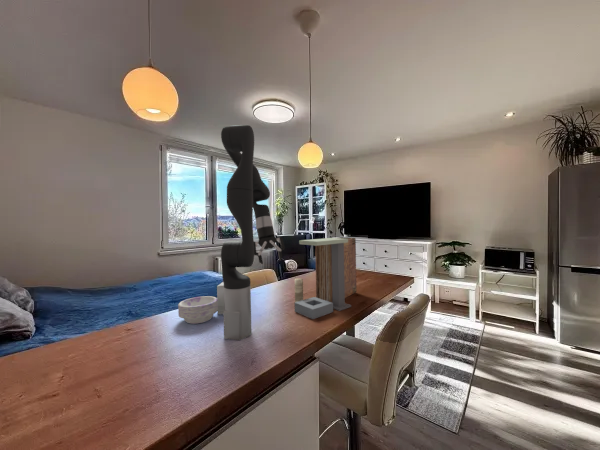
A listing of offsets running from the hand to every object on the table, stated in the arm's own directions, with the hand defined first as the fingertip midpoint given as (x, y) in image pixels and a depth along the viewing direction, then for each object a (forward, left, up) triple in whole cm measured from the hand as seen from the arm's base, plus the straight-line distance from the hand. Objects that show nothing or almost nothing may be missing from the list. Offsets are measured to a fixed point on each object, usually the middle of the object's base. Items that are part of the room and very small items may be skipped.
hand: (271, 262), depth 112 cm
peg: (+11, -10, -22) cm, 26 cm away
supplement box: (-5, +19, -22) cm, 30 cm away
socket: (+2, -19, -22) cm, 29 cm away
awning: (+5, -24, -22) cm, 33 cm away
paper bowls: (-16, +26, -22) cm, 38 cm away
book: (+25, -27, -22) cm, 42 cm away
